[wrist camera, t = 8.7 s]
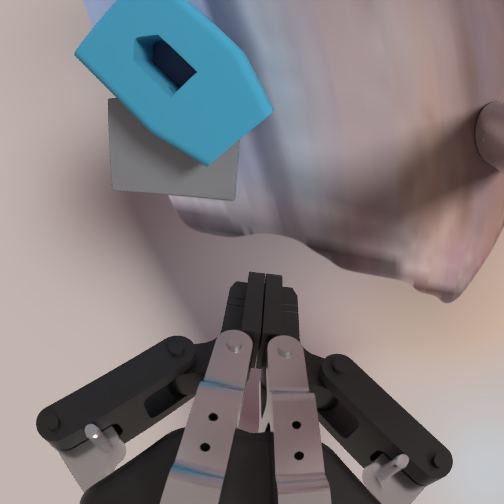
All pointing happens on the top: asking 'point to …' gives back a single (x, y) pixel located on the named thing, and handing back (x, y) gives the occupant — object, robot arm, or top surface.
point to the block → (163, 88)
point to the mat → (163, 162)
